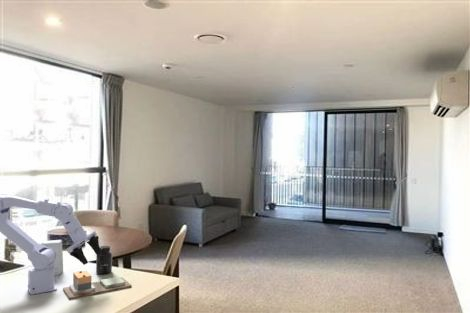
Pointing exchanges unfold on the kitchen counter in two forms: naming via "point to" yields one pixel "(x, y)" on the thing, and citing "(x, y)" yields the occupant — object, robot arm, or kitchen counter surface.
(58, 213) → the robot arm
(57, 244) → the skincare box
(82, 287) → the plate
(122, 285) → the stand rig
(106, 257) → the supplement bottle
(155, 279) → the kitchen counter surface
